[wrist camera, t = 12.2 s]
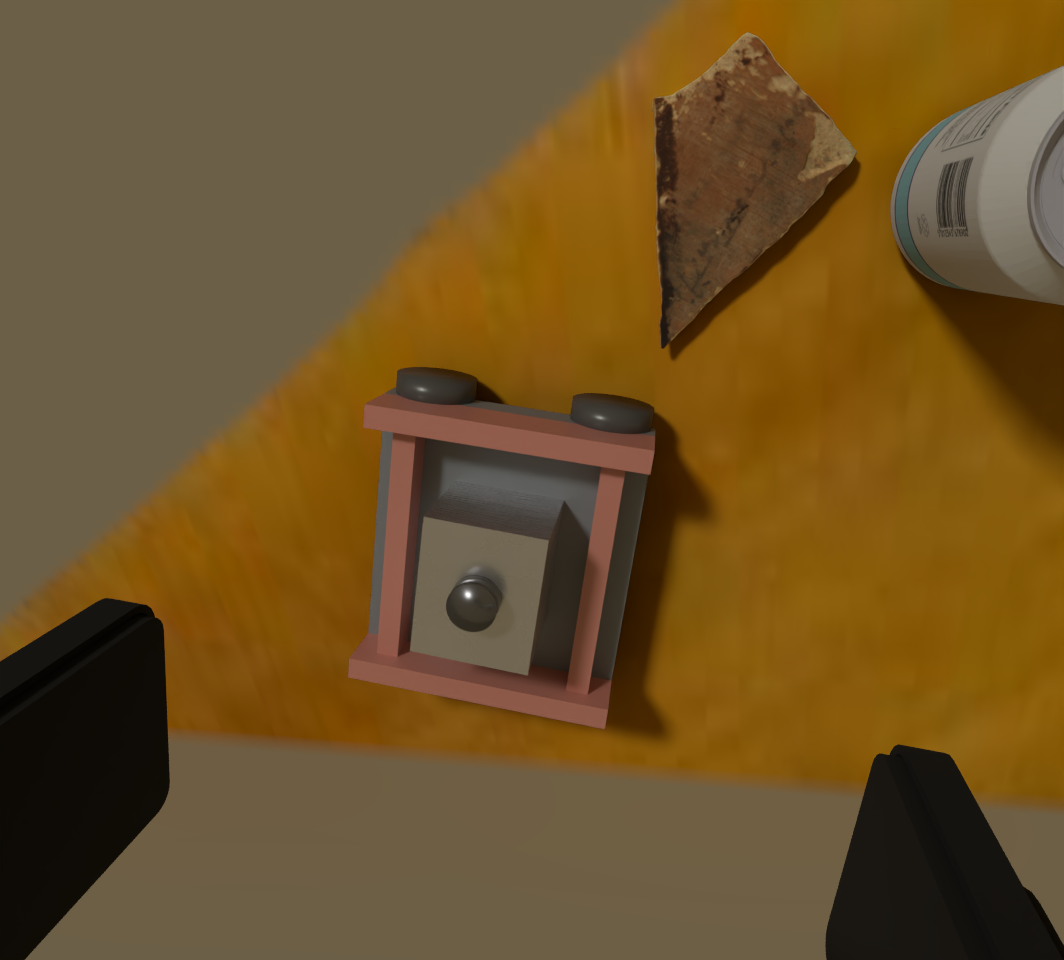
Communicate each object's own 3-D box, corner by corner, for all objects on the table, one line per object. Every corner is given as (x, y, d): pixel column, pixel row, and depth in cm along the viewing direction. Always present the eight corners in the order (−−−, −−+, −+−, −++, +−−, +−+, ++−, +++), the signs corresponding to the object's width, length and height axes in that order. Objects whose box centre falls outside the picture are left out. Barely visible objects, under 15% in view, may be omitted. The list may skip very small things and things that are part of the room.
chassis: (659, 402, 36) (658, 429, 31) (609, 681, 41) (601, 746, 35) (407, 363, 37) (366, 382, 32) (386, 638, 42) (347, 694, 37)
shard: (662, 345, 36) (662, 350, 34) (544, 222, 35) (538, 221, 34) (858, 160, 32) (868, 155, 31) (731, 20, 32) (735, 7, 30)
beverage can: (999, 316, 33) (1176, 355, 22) (850, 243, 33) (948, 244, 22) (1107, 154, 31) (1369, 102, 19) (947, 75, 31) (1114, -22, 19)
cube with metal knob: (564, 500, 35) (545, 550, 29) (545, 620, 37) (523, 688, 31) (455, 480, 36) (416, 525, 30) (441, 599, 37) (402, 663, 32)
